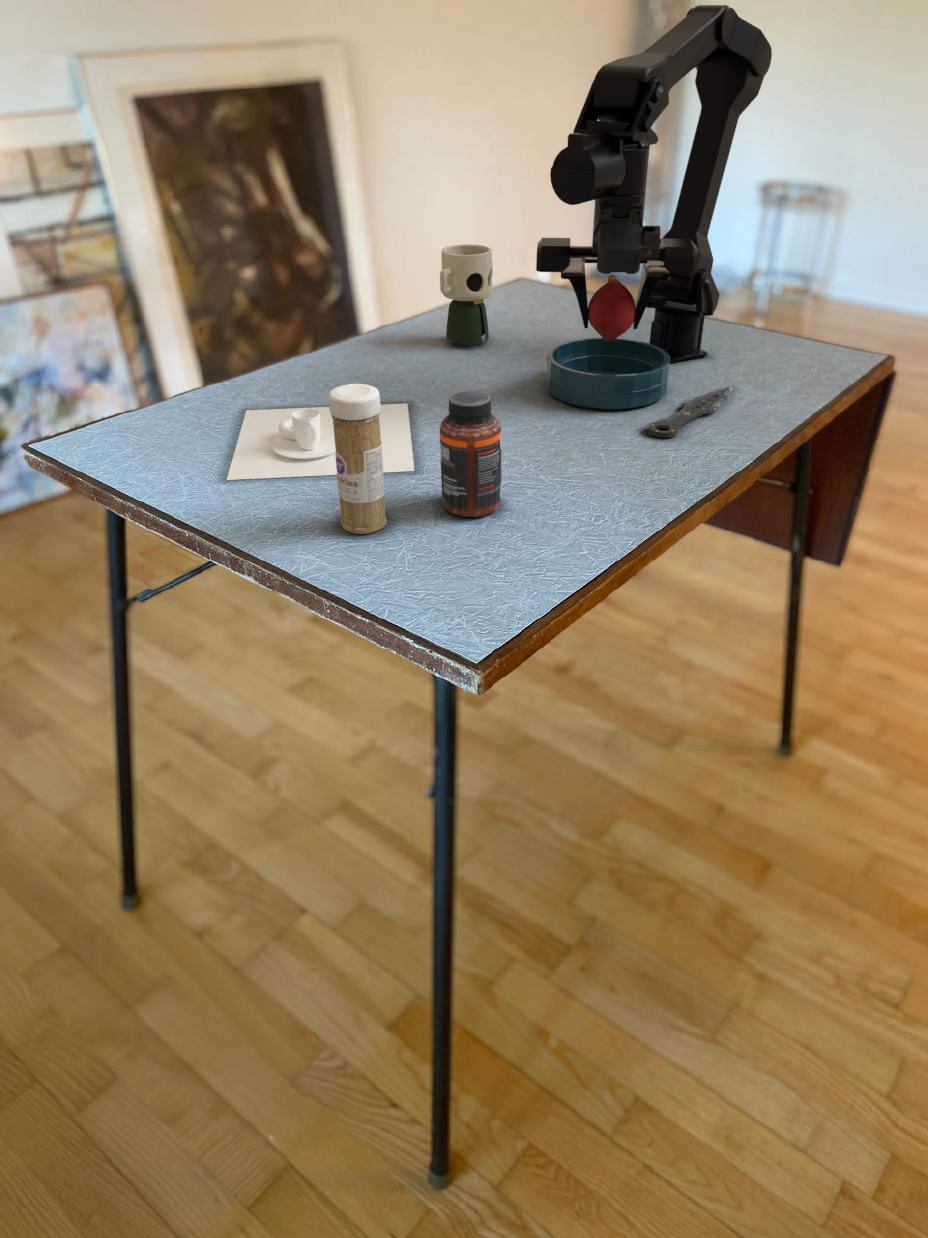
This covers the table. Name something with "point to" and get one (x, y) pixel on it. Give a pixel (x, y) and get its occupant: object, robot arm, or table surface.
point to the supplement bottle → (470, 456)
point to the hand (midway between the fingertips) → (610, 327)
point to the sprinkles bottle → (358, 457)
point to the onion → (611, 309)
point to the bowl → (607, 373)
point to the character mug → (466, 291)
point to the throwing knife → (689, 412)
